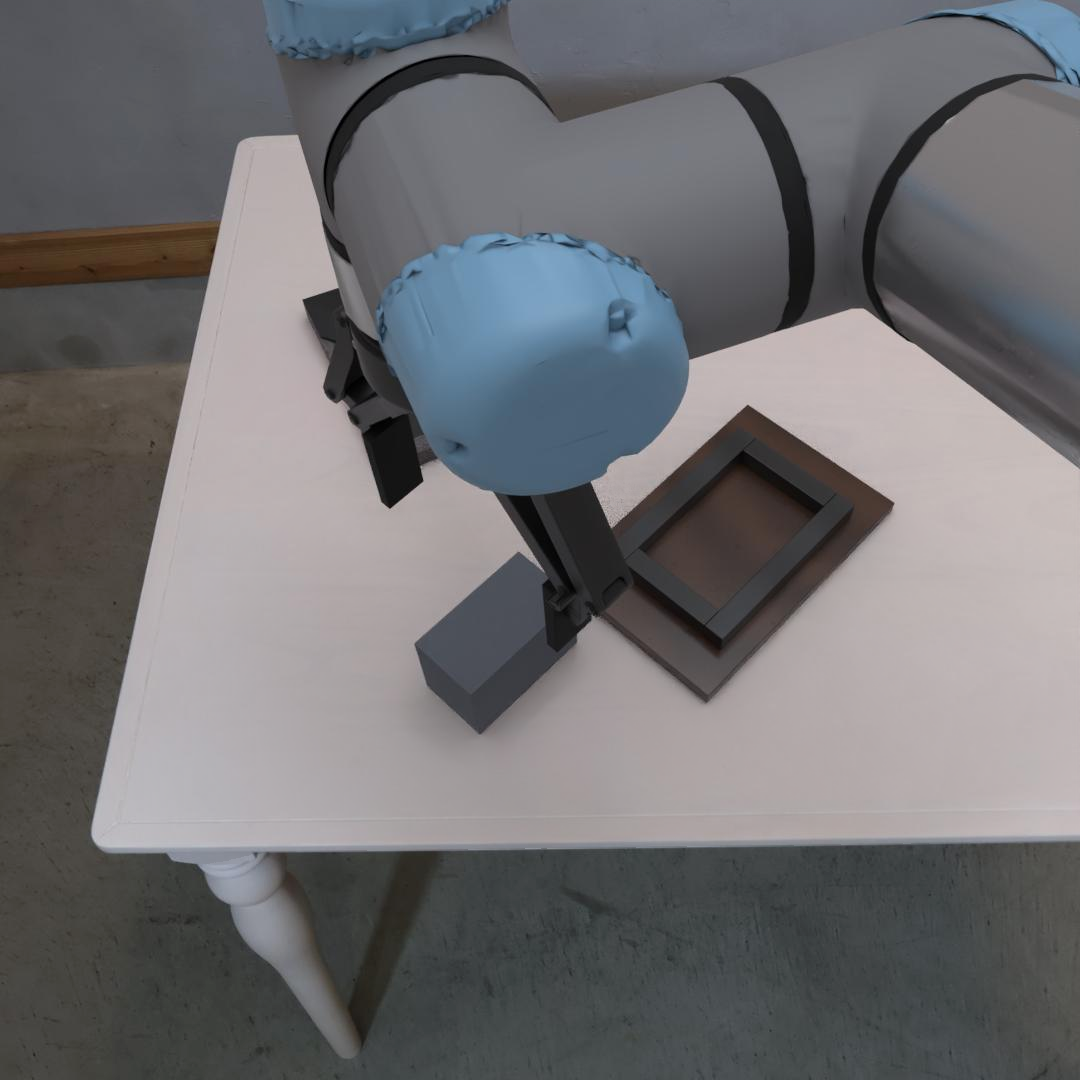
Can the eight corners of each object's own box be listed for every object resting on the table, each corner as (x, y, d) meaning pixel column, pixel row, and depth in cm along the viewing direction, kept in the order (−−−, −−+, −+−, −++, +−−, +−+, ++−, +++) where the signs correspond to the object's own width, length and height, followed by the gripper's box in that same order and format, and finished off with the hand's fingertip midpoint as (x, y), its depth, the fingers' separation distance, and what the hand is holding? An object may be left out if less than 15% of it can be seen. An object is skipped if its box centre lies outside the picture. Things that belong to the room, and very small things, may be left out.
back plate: (746, 412, 84) (749, 390, 82) (892, 510, 79) (900, 490, 77) (560, 582, 77) (559, 563, 75) (707, 702, 72) (710, 686, 70)
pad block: (524, 597, 77) (518, 550, 71) (577, 642, 75) (575, 597, 69) (426, 685, 73) (413, 643, 68) (479, 734, 71) (470, 695, 66)
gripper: (735, 398, 42) (695, 651, 60) (313, 113, 52) (386, 403, 70) (598, 522, 39) (599, 748, 57) (181, 197, 49) (293, 476, 67)
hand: (482, 559), depth 64 cm, fingers open, 13 cm apart
